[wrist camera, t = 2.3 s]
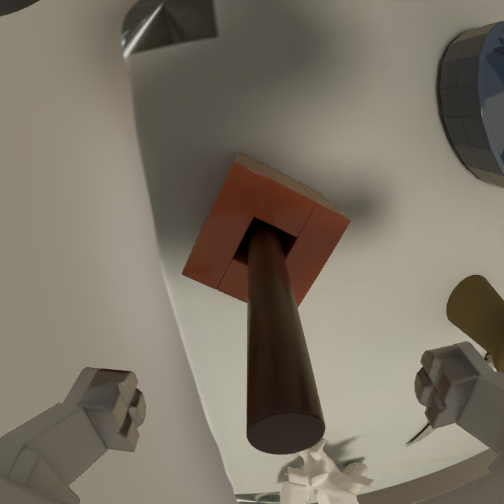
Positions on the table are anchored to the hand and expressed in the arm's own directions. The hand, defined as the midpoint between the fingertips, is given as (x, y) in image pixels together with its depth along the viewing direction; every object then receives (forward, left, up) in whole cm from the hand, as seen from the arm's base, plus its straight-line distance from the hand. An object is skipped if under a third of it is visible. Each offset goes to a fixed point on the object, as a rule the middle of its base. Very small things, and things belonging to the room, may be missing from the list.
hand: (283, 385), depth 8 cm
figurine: (+23, -26, -18) cm, 39 cm away
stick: (0, 0, -18) cm, 18 cm away
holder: (0, 0, -18) cm, 18 cm away
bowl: (+15, +20, -18) cm, 31 cm away
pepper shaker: (+24, +2, -18) cm, 30 cm away
